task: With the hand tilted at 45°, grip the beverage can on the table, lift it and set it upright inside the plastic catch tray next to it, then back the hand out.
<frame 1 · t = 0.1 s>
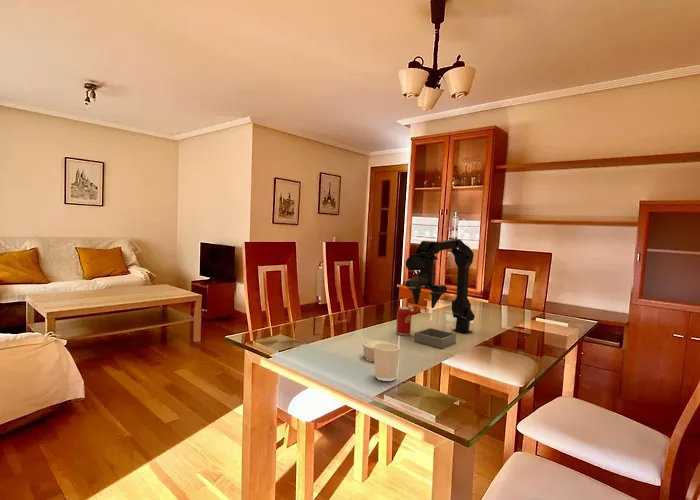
hand: (424, 306, 163), 15 cm above the table, tool pointing down, fingers open, 9 cm apart
beverage can: (403, 334, 170), on the table
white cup: (385, 378, 118), on the table
catch tray: (435, 342, 159), on the table
ramekin: (377, 359, 136), on the table
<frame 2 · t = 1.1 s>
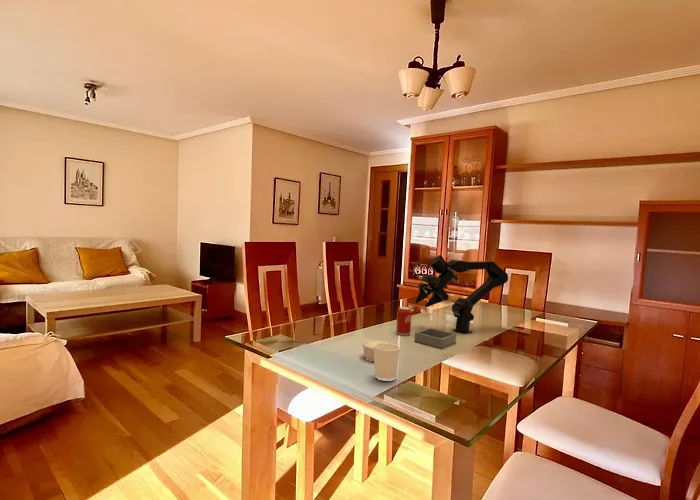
hand: (420, 304, 172), 13 cm above the table, tool tilted 45°, fingers open, 9 cm apart
nothing on the table moved.
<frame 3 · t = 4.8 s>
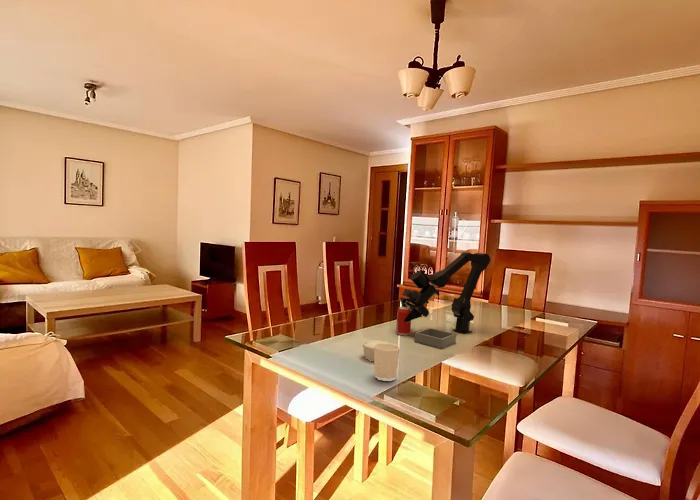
hand: (401, 319, 169), 7 cm above the table, tool tilted 45°, fingers closed on beverage can, 6 cm apart
beverage can: (403, 334, 170), on the table, touching gripper
everything else where it was.
when the fingers open (8 cm above the table, at t = 9.2 s): beverage can drops 1 cm, resting on catch tray.
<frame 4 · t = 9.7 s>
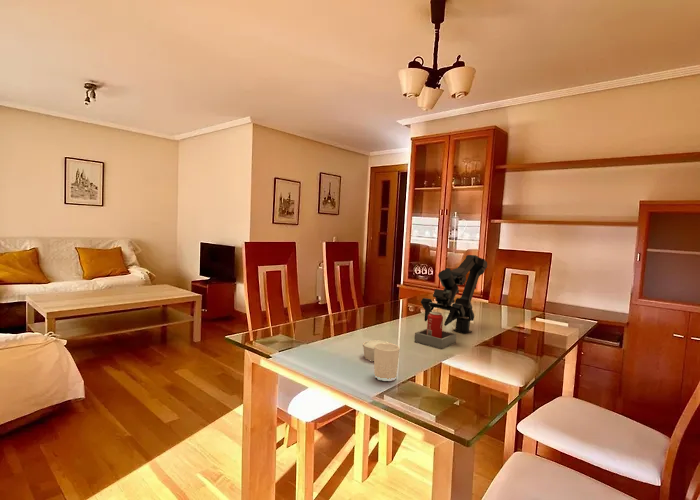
hand: (434, 322, 158), 9 cm above the table, tool tilted 45°, fingers open, 9 cm apart
beverage can: (433, 341, 160), resting on catch tray
everything else where it was.
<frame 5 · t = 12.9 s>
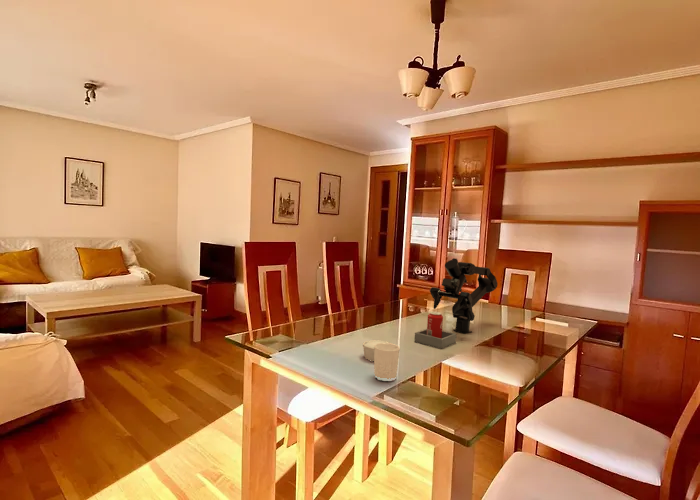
hand: (443, 310, 165), 13 cm above the table, tool tilted 45°, fingers open, 9 cm apart
nothing on the table moved.
at the end: beverage can inside the target area on the catch tray (0.7 cm from its centre), point 0.4 cm above the catch tray's base; beverage can tilted 0°; the gripper is holding nothing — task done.
